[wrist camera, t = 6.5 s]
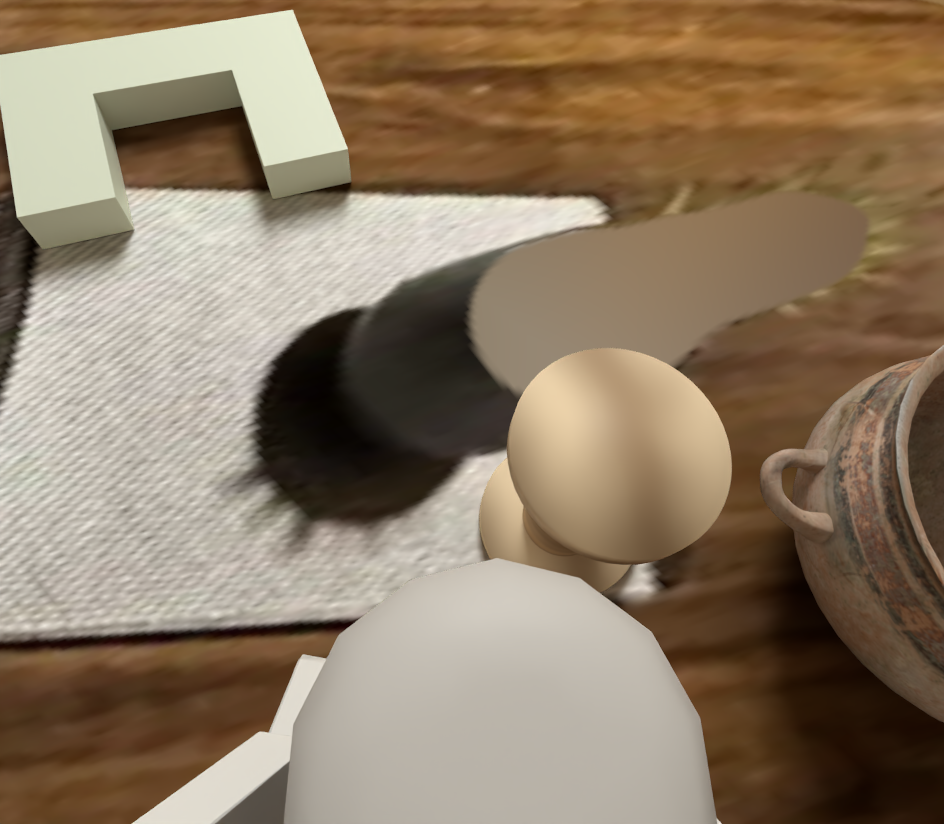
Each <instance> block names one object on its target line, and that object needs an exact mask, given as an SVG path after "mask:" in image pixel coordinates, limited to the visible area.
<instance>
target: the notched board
mask: <svg viewBox="0 0 944 824" xmlns="http://www.w3.org/2000/svg"><path fill="white" fill-rule="evenodd" d="M0 105H1V112H2V119H3V126H4V133H5V139H6V146H7V153H8V160H9V167H10V173H11V180H12V187H13V194H14V201H15V207H16V214H17V218H18V219H19V221H20V222H21V223H22V224H23V226H24V227H25V228H26V229H27V230H28V232H29V233H30V234H31V235H32V237H33V238H34V239H35V240H36V242H37V243H38V244H39V245H40V247H41V248H42V249H43V250H44V249H48V248H53V247H57V246H62V245H67V244H71V243H76V242H80V241H85V240H89V239H94V238H99V237H103V236H108V235H112V234H117V233H121V232H126V231H131V230H134V226H133V221H132V217H131V213H130V208H129V204H128V199H127V195H126V191H125V186H124V182H123V177H122V173H121V169H120V164H119V160H118V155H117V151H116V147H115V142H114V138H113V133H112V130H116V129H121V128H126V127H132V126H137V125H143V124H148V123H153V122H159V121H164V120H170V119H175V118H180V117H186V116H191V115H197V114H202V113H208V112H213V111H218V110H224V109H229V108H235V107H240V106H242V108H243V111H244V114H245V117H246V120H247V123H248V126H249V129H250V132H251V135H252V138H253V141H254V144H255V147H256V150H257V153H258V156H259V159H260V162H261V165H262V168H263V171H264V174H265V177H266V180H267V183H268V186H269V189H270V192H271V195H272V198H273V199H277V198H281V197H286V196H290V195H295V194H299V193H304V192H309V191H313V190H318V189H322V188H327V187H331V186H336V185H341V184H345V183H350V182H351V174H350V165H349V155H348V148H347V146H346V143H345V141H344V138H343V136H342V133H341V131H340V128H339V126H338V123H337V121H336V118H335V116H334V113H333V111H332V108H331V105H330V103H329V100H328V98H327V95H326V93H325V90H324V88H323V85H322V83H321V80H320V78H319V75H318V73H317V70H316V68H315V65H314V63H313V60H312V58H311V55H310V53H309V50H308V48H307V45H306V43H305V40H304V38H303V35H302V33H301V30H300V28H299V25H298V22H297V20H296V17H295V15H294V12H293V10H288V11H282V12H276V13H269V14H263V15H256V16H250V17H243V18H237V19H230V20H224V21H217V22H211V23H204V24H198V25H191V26H185V27H179V28H172V29H166V30H159V31H153V32H146V33H140V34H133V35H127V36H120V37H114V38H107V39H101V40H94V41H88V42H82V43H75V44H69V45H62V46H56V47H49V48H43V49H36V50H30V51H23V52H17V53H10V54H4V55H0Z"/></svg>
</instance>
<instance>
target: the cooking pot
mask: <svg viewBox="0 0 944 824" xmlns="http://www.w3.org/2000/svg"><path fill="white" fill-rule="evenodd" d="M788 467H798V469H797V474H796V478H795V482H794V486H793V502H792V503H791V502H790V501H789V500H788V498H787V497H786V496H785V494H784V492H783V489H782V480H781V476H782V471H783V469H785V468H788ZM760 488H761V493H762V496H763V499H764V501H765V502H766V504H767V506H768V507H769V508H770V509H771V511H772V512H773V513H774V514H775V515H776V516H777V517H778V518H779V519H780V520H782V521H783V522H784V523H785V524H787V525H788V526H789V527H790V528H792V529H793V530H794V537H795V544H796V549H797V553H798V556H799V559H800V563H801V566H802V569H803V573H804V576H805V578H806V581H807V583H808V585H809V587H810V589H811V591H812V593H813V595H814V598H815V600H816V602H817V604H818V606H819V608H820V609H821V611H822V612H823V614H824V615H825V617H826V619H827V620H828V622H829V623H830V625H831V626H832V628H833V629H834V631H835V632H836V634H837V635H838V637H839V638H840V639H841V640H842V641H843V642H844V643H845V645H846V646H847V647H848V648H849V649H850V650H851V652H852V653H853V654H854V655H855V656H856V657H857V659H858V660H859V661H860V662H861V663H862V664H863V665H864V666H865V667H866V668H867V669H868V670H870V671H871V672H872V673H873V674H874V675H875V676H876V677H878V678H879V679H880V680H881V681H882V682H883V683H884V684H885V685H887V686H888V687H889V688H890V689H891V690H892V691H894V692H895V693H897V694H898V695H900V696H901V697H903V698H904V699H906V700H907V701H909V702H910V703H912V704H913V705H915V706H916V707H918V708H919V709H921V710H922V711H924V712H925V713H927V714H928V715H930V716H932V717H933V718H935V719H937V720H939V721H941V722H943V723H944V345H943V346H942V347H940V348H939V349H938V350H937V351H936V352H934V353H933V354H932V355H931V356H927V357H923V358H919V359H915V360H911V361H907V362H904V363H900V364H897V365H894V366H892V367H890V368H887V369H885V370H883V371H881V372H879V373H877V374H875V375H873V376H871V377H869V378H867V379H865V380H863V381H861V382H860V383H859V384H857V385H856V386H855V387H853V388H852V389H851V390H850V391H848V392H847V393H846V394H844V395H843V396H842V397H841V398H839V399H838V400H837V401H836V402H835V403H834V404H833V405H832V406H831V407H830V408H829V410H828V411H827V412H826V413H825V415H824V416H823V417H822V419H821V420H820V421H819V422H818V424H817V425H816V426H815V428H814V430H813V432H812V434H811V436H810V438H809V440H808V442H807V444H806V446H805V448H804V449H786V450H782V451H779V452H777V453H775V454H773V455H771V456H770V457H769V458H767V459H766V460H765V462H764V463H763V465H762V468H761V471H760Z"/></svg>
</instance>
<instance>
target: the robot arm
mask: <svg viewBox="0 0 944 824" xmlns="http://www.w3.org/2000/svg"><path fill="white" fill-rule="evenodd" d="M325 661H326V659H325V658H320V657H314V656H309V655H304V654H303V655H302V656H301V658H300V659H299V660H298V662H297V665H296V667H295V669H294V672H293V674H292V677H291V679H290V682H289V684H288V687H287V689H286V692H285V694H284V696H283V699H282V701H281V704H280V706H279V709H278V711H277V714H276V716H275V719H274V721H273V723H272V726H271V728H270V731H269V733H266V732H258V733H257V734H255V735H254V736H253V737H251V738H250V739H249V740H247V741H246V742H244V743H243V744H242V745H240V746H239V747H237V748H236V749H235V750H233V751H232V752H231V753H229V754H228V755H226V756H225V757H224V758H222V759H221V760H219V761H218V762H217V763H215V764H214V765H213V766H211V767H210V768H208V769H207V770H206V771H204V772H203V773H201V774H200V775H199V776H197V777H196V778H195V779H193V780H192V781H190V782H189V783H188V784H186V785H185V786H183V787H182V788H181V789H179V790H178V791H176V792H175V793H174V794H172V795H171V796H170V797H168V798H167V799H165V800H164V801H163V802H161V803H160V804H158V805H157V806H156V807H154V808H153V809H152V810H150V811H149V812H147V813H146V814H145V815H143V816H142V817H140V818H139V819H138V820H136V821H135V822H134V823H132V824H284V813H285V803H286V793H287V783H288V773H289V763H290V752H291V742H292V732H293V723H294V722H295V720H296V718H297V716H298V714H299V712H300V710H301V708H302V706H303V704H304V702H305V700H306V698H307V696H308V694H309V692H310V690H311V688H312V686H313V684H314V682H315V681H316V679H317V677H318V675H319V673H320V671H321V669H322V667H323V665H324V663H325ZM716 819H717V818H716ZM717 824H721V822H720V821H719V820H718V819H717Z"/></svg>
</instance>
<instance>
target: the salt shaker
mask: <svg viewBox="0 0 944 824" xmlns="http://www.w3.org/2000/svg"><path fill="white" fill-rule="evenodd" d="M284 824H717V819H716V813H715V807H714V801H713V794H712V788H711V782H710V776H709V770H708V764H707V757H706V751H705V745H704V739H703V733H702V726H701V720H700V717H699V715H698V713H697V712H696V710H695V708H694V706H693V705H692V703H691V701H690V699H689V698H688V696H687V694H686V692H685V690H684V689H683V687H682V685H681V683H680V682H679V680H678V678H677V676H676V674H675V673H674V671H673V669H672V667H671V666H670V664H669V662H668V660H667V658H666V657H665V655H664V653H663V651H662V650H661V648H660V646H659V644H658V642H657V641H656V639H655V637H654V635H653V634H652V632H651V631H650V630H648V629H647V628H646V627H644V626H643V625H642V624H640V623H639V622H638V621H636V620H635V619H634V618H632V617H631V616H630V615H628V614H627V613H626V612H624V611H623V610H622V609H620V608H619V607H618V606H616V605H615V604H614V603H612V602H611V601H610V600H608V599H607V598H606V597H604V596H603V595H602V594H600V593H599V592H598V591H596V590H595V589H594V588H592V587H591V586H590V585H588V584H587V583H586V582H584V581H583V580H582V579H580V578H578V577H573V576H569V575H565V574H561V573H557V572H553V571H549V570H545V569H540V568H536V567H532V566H528V565H524V564H520V563H516V562H511V561H507V560H503V559H499V558H495V559H491V560H487V561H483V562H479V563H475V564H471V565H467V566H463V567H459V568H454V569H450V570H446V571H442V572H438V573H434V574H430V575H426V576H422V577H418V578H414V579H411V580H409V581H408V582H406V583H405V584H404V585H403V586H401V587H400V588H399V589H397V590H396V591H395V592H394V593H392V594H391V595H390V596H388V597H387V598H386V599H384V600H383V601H382V602H381V603H379V604H378V605H377V606H375V607H374V608H373V609H372V610H370V611H369V612H368V613H366V614H365V615H364V616H363V617H361V618H360V619H359V620H357V621H356V622H355V623H354V624H352V625H351V626H350V627H348V628H347V629H346V630H345V631H343V632H342V633H341V634H339V636H338V638H337V640H336V641H335V643H334V645H333V647H332V649H331V651H330V653H329V655H328V657H327V659H326V661H325V663H324V665H323V667H322V669H321V671H320V673H319V675H318V677H317V679H316V681H315V682H314V684H313V686H312V688H311V690H310V692H309V694H308V696H307V698H306V700H305V702H304V704H303V706H302V708H301V710H300V712H299V714H298V716H297V718H296V720H295V722H294V723H293V732H292V742H291V752H290V763H289V773H288V783H287V793H286V803H285V813H284Z"/></svg>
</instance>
